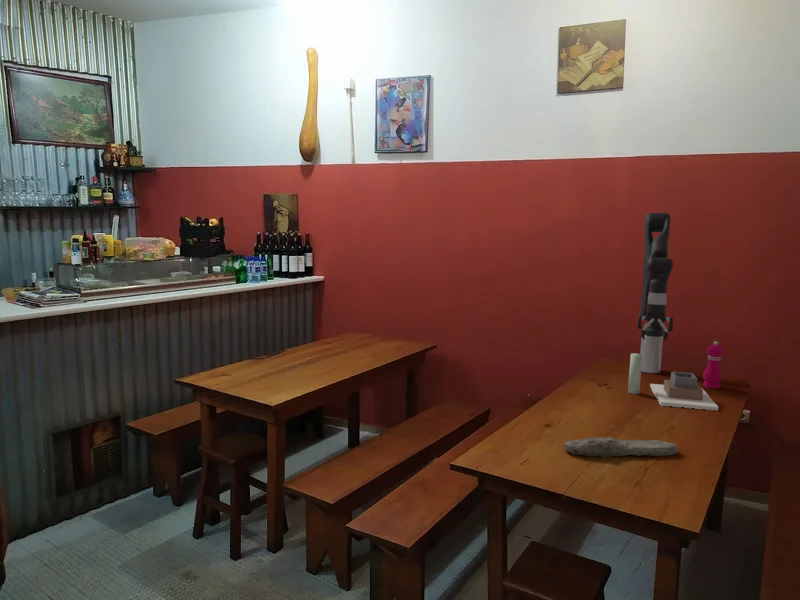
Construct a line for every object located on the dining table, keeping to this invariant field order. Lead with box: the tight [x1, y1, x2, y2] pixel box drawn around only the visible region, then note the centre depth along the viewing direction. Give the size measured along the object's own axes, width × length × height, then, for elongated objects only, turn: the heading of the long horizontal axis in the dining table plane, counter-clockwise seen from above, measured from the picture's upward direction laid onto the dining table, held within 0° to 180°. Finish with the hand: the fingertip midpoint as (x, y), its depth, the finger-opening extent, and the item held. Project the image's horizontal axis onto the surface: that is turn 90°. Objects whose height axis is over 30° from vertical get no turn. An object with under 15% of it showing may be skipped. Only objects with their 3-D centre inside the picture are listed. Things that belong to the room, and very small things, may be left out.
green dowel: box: [627, 352, 642, 395], centre depth 245 cm, size 4×4×16 cm
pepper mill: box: [702, 340, 724, 390], centre depth 255 cm, size 7×7×20 cm
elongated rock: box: [563, 436, 678, 458], centre depth 183 cm, size 35×5×10 cm
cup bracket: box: [649, 371, 719, 412], centre depth 239 cm, size 26×20×10 cm
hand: (653, 339), depth 265 cm, fingers open, 8 cm apart
